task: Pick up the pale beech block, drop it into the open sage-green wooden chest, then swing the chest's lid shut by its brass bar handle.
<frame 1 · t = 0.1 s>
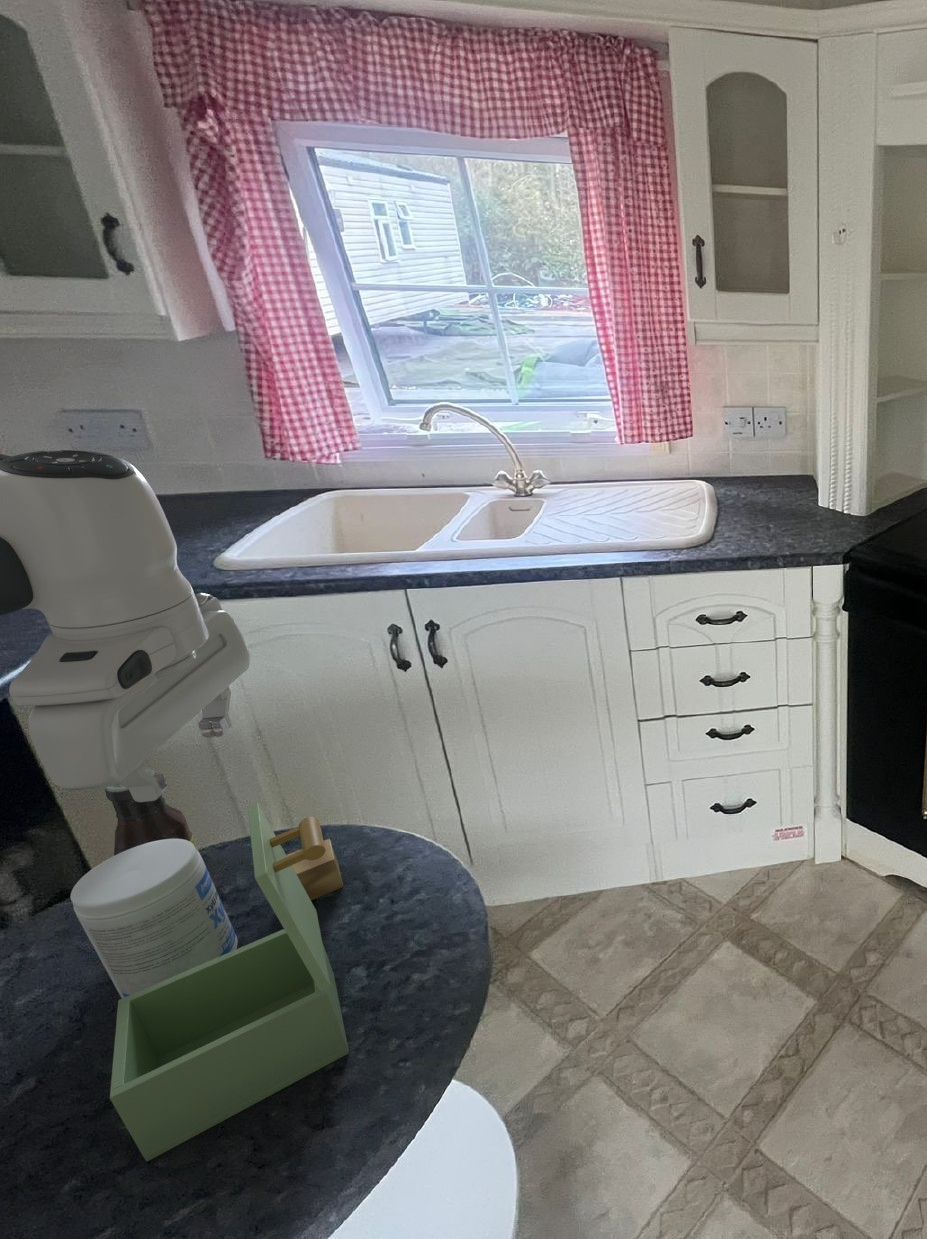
hand: (187, 762, 70), 30 cm above the countertop, tool pointing down, fingers open, 8 cm apart
sauce bottle: (183, 914, 89), on the countertop
chest: (251, 1057, 74), on the countertop
block: (318, 885, 93), on the countertop
lid: (312, 884, 73), point 17 cm above the countertop, hinge at 85.0°
supplement tub: (183, 971, 82), on the countertop
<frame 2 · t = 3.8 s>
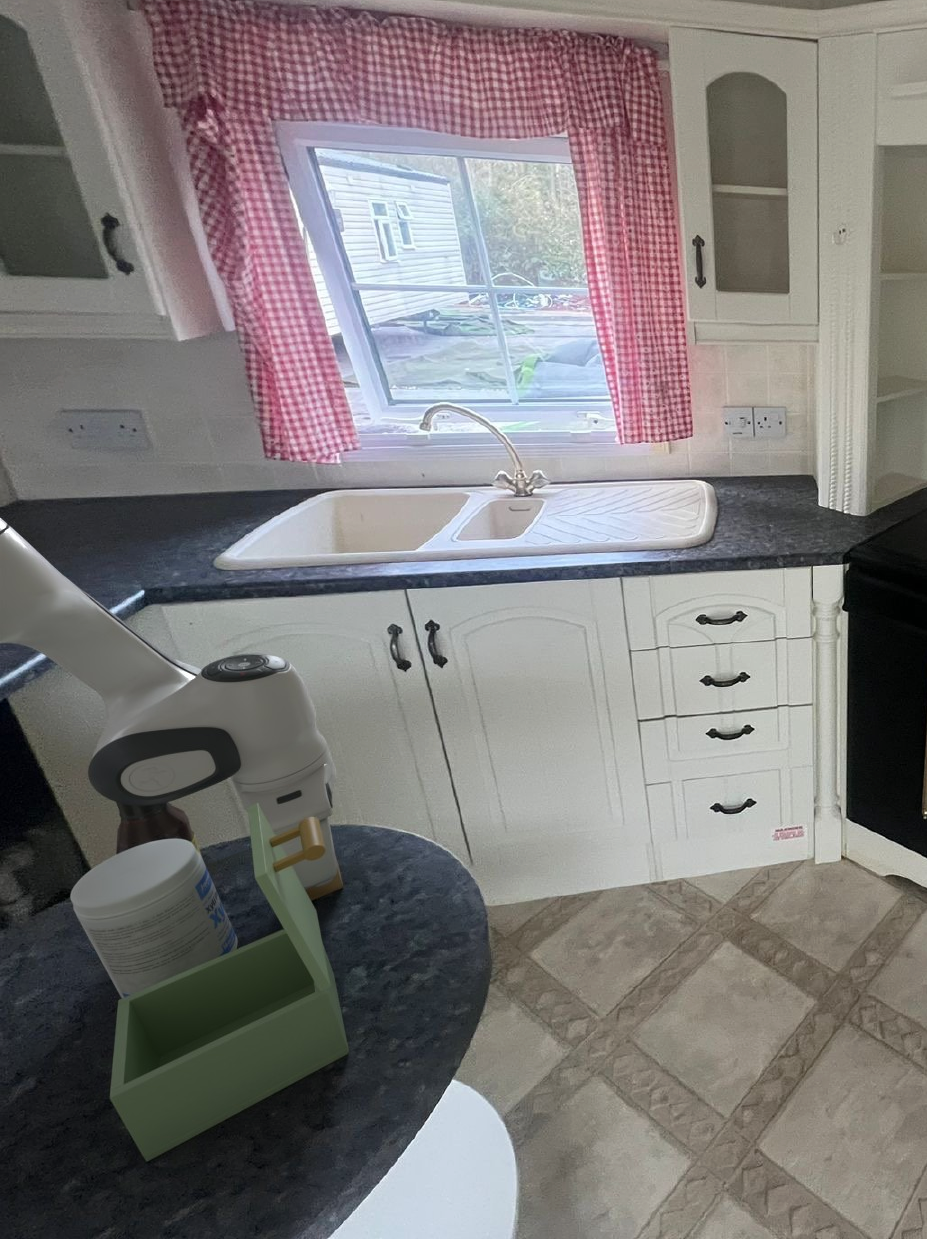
hand: (321, 866, 93), 3 cm above the countertop, tool pointing down, fingers closed on block, 4 cm apart
sauce bottle: (183, 914, 89), on the countertop, touching arm
block: (318, 885, 93), on the countertop, touching gripper
everything else where it was.
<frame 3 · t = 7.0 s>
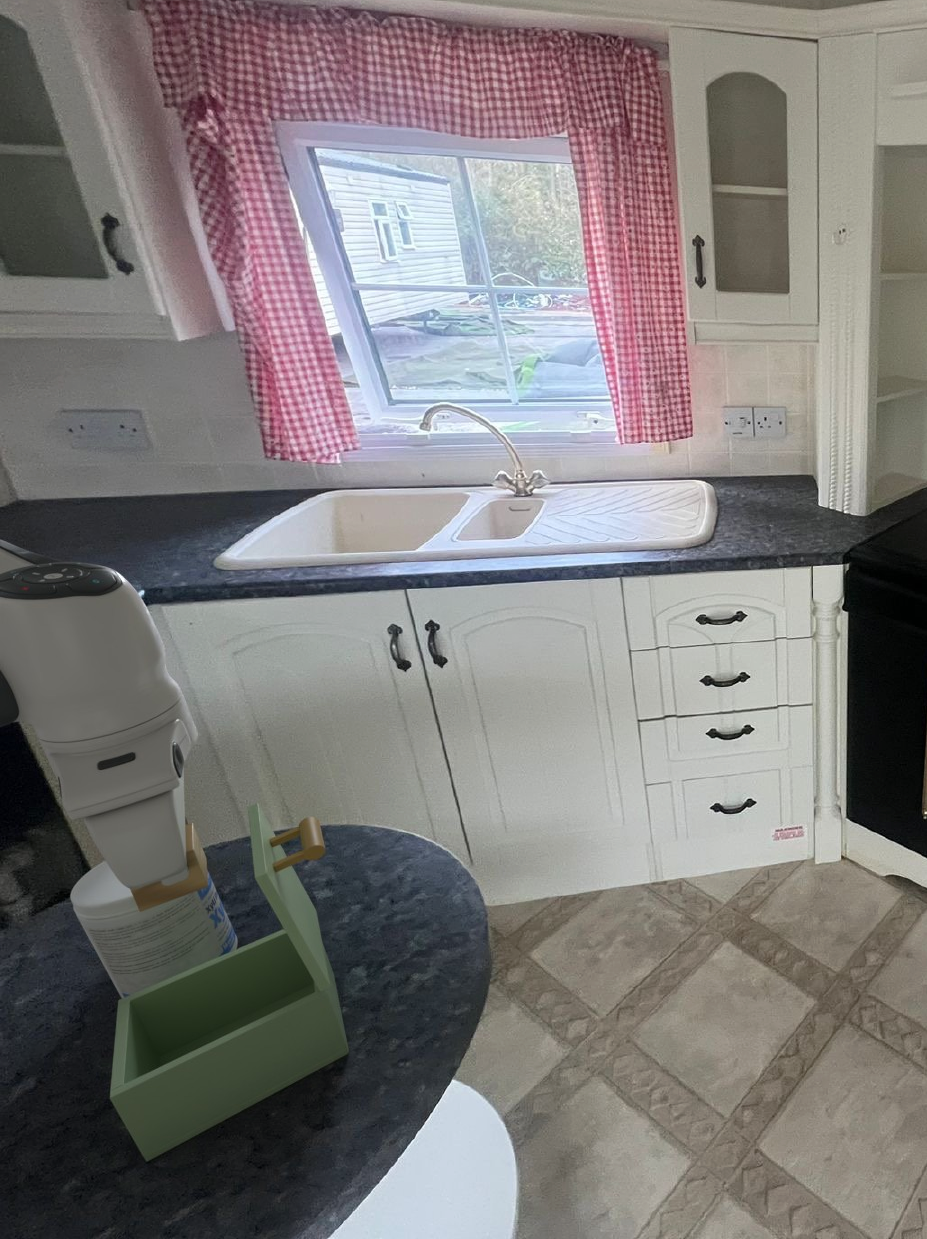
hand: (177, 859, 70), 21 cm above the countertop, tool pointing down, fingers closed on block, 4 cm apart
sauce bottle: (183, 914, 89), on the countertop
block: (174, 884, 70), point 18 cm above the countertop, touching gripper
everything else where it was.
when the fingers open (9 cm above the countertop, at t = 10.6 s): block drops 6 cm, resting on chest.
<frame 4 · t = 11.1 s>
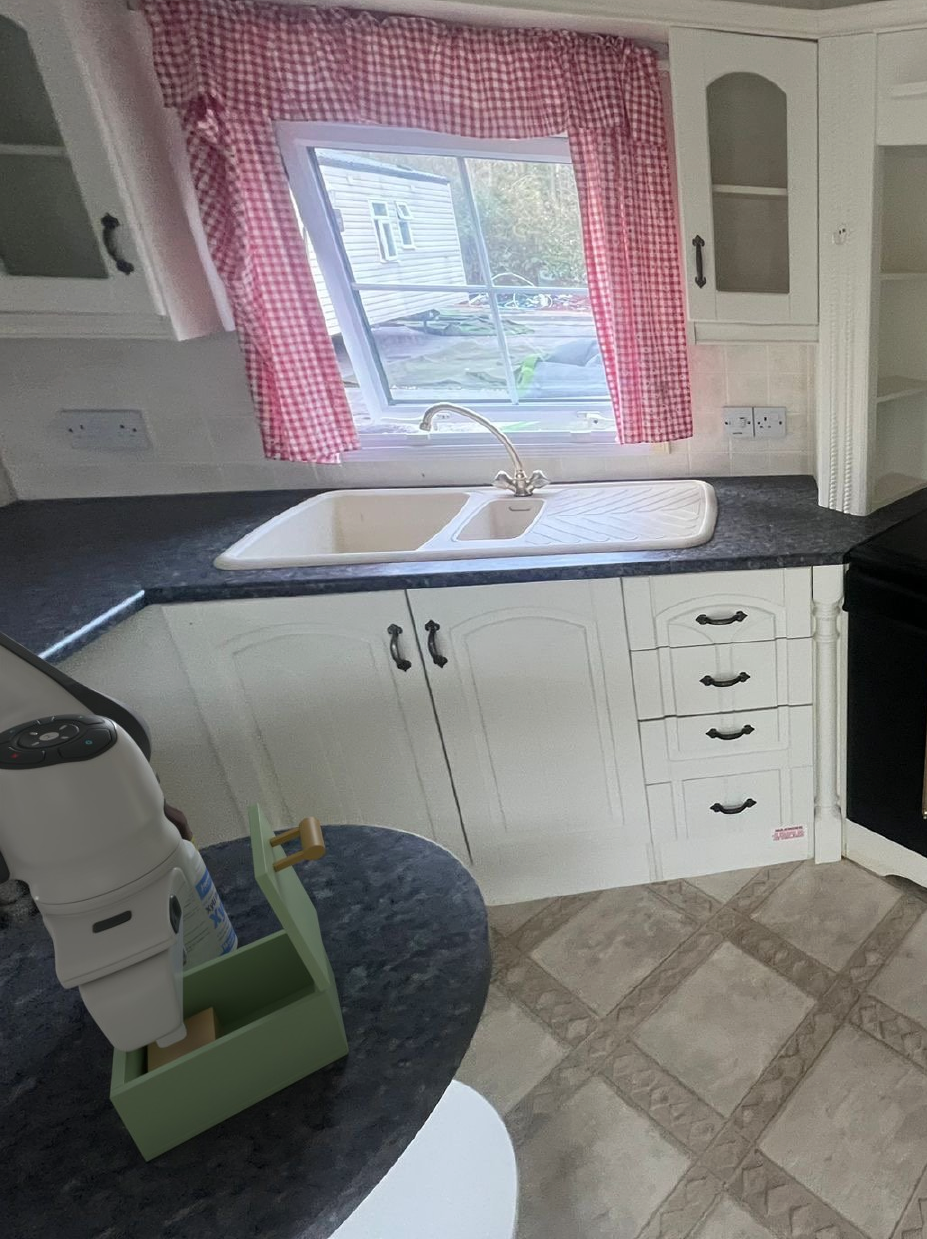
hand: (174, 999, 69), 10 cm above the countertop, tool pointing down, fingers open, 8 cm apart
block: (197, 1070, 72), point 1 cm above the countertop, touching chest
everything else where it was.
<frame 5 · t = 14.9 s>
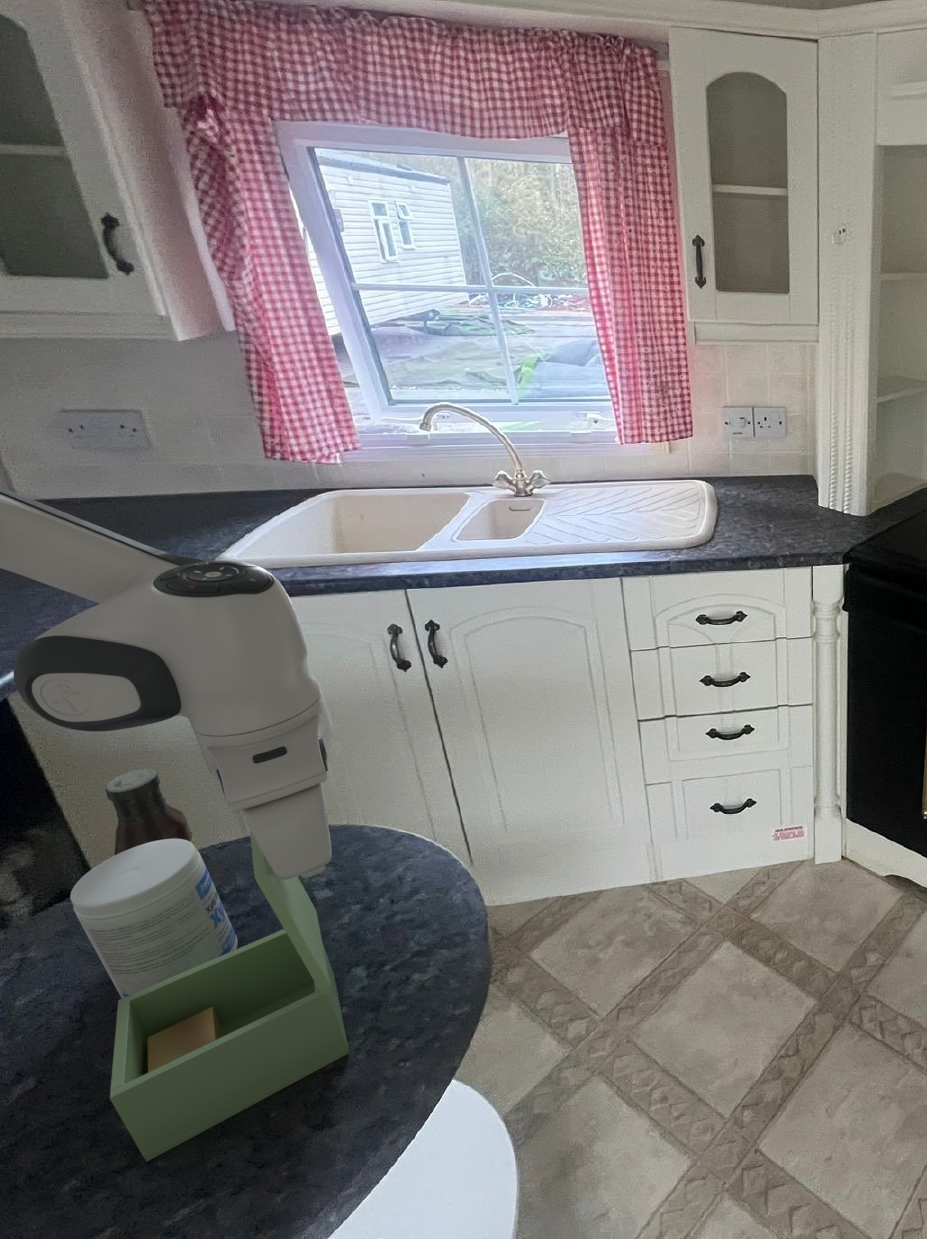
hand: (309, 851, 72), 21 cm above the countertop, tool pointing down, fingers closed on lid, 5 cm apart
lid: (312, 884, 73), point 17 cm above the countertop, hinge at 85.0°, touching gripper
everything else where it was.
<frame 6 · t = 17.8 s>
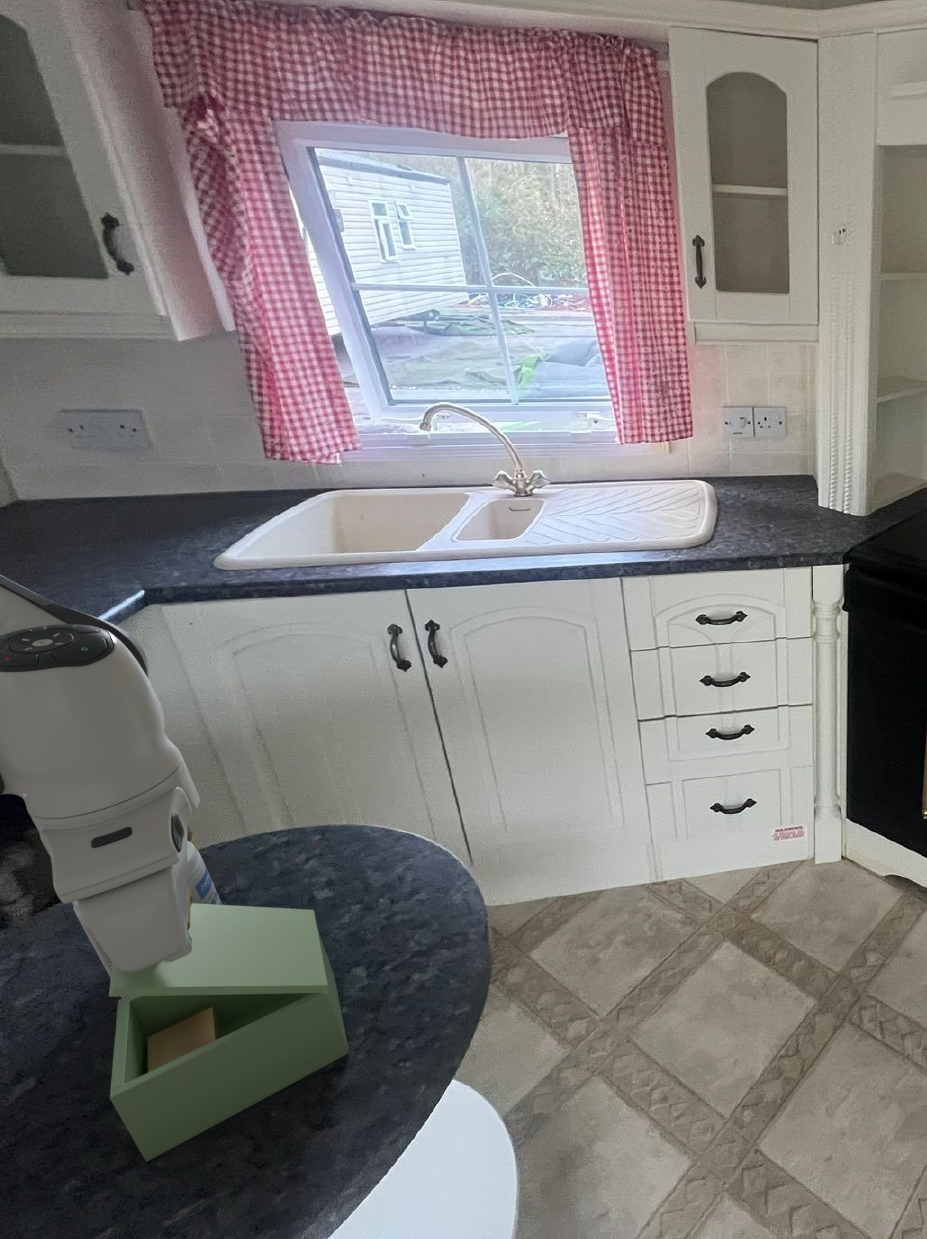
hand: (180, 929, 66), 18 cm above the countertop, tool pointing down, fingers closed on lid, 5 cm apart
lid: (237, 928, 70), point 16 cm above the countertop, hinge at 39.8°, touching gripper
everything else where it was.
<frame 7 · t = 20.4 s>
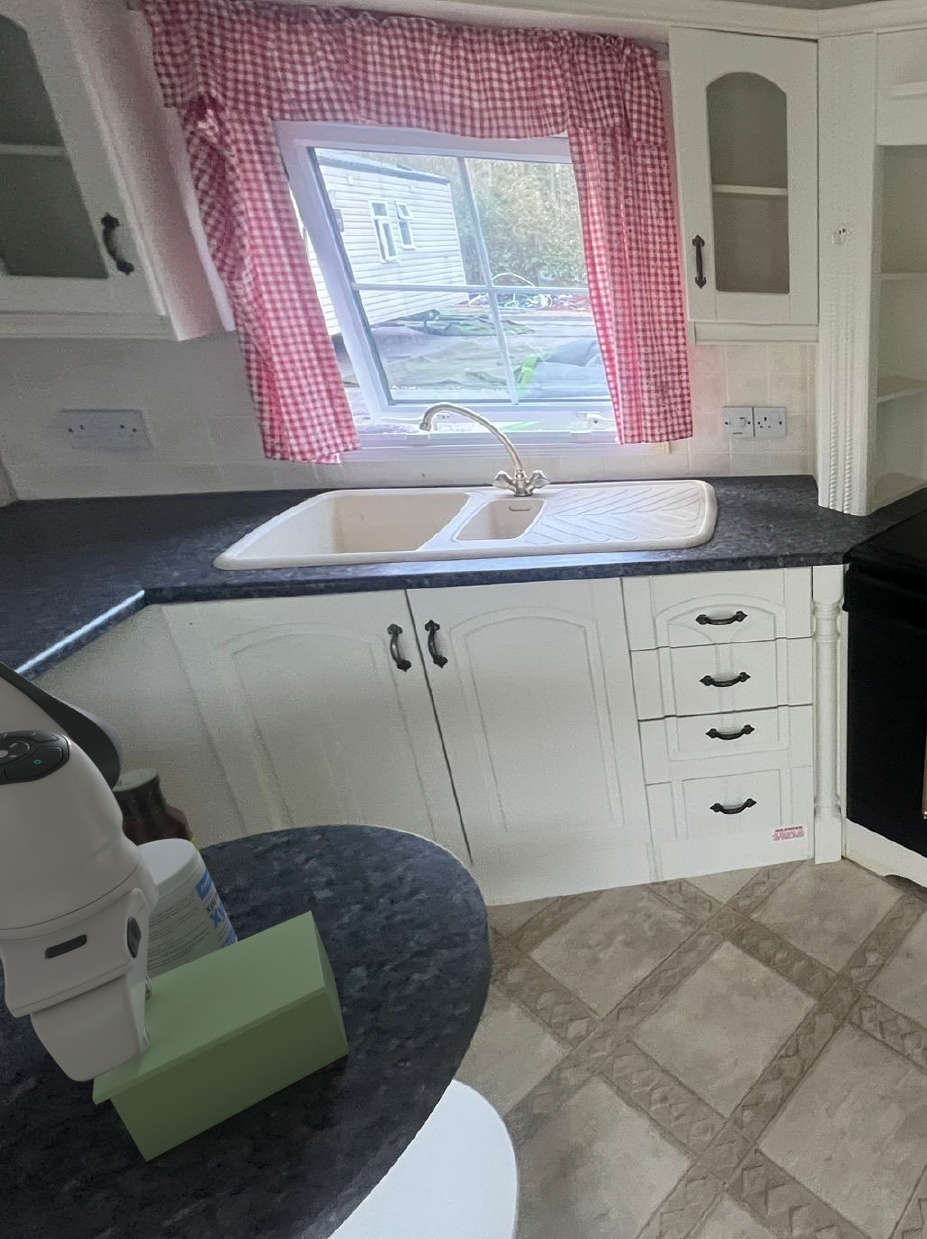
hand: (138, 1023, 66), 10 cm above the countertop, tool pointing down, fingers closed on lid, 5 cm apart
lid: (210, 981, 69), point 11 cm above the countertop, hinge at -0.2°, touching chest, gripper
everything else where it was.
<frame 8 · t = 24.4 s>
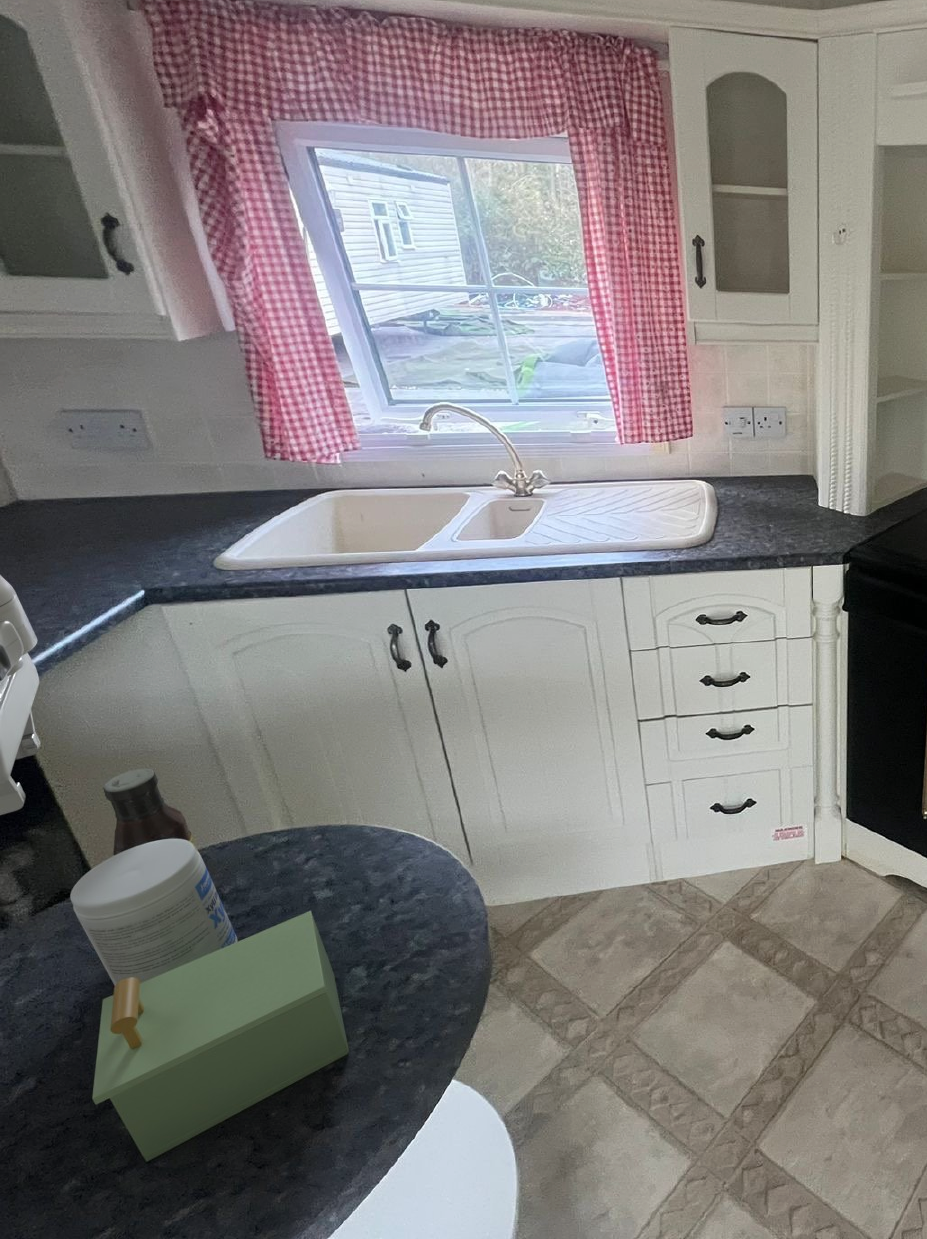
hand: (19, 779, 65), 31 cm above the countertop, tool pointing down, fingers open, 8 cm apart
lid: (210, 981, 69), point 11 cm above the countertop, hinge at -0.2°
everything else where it was.
at the end: block inside the target area in the chest (3.9 cm from its centre), point 0.8 cm above the chest's base; lid at +0° (first picture: +85°) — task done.
